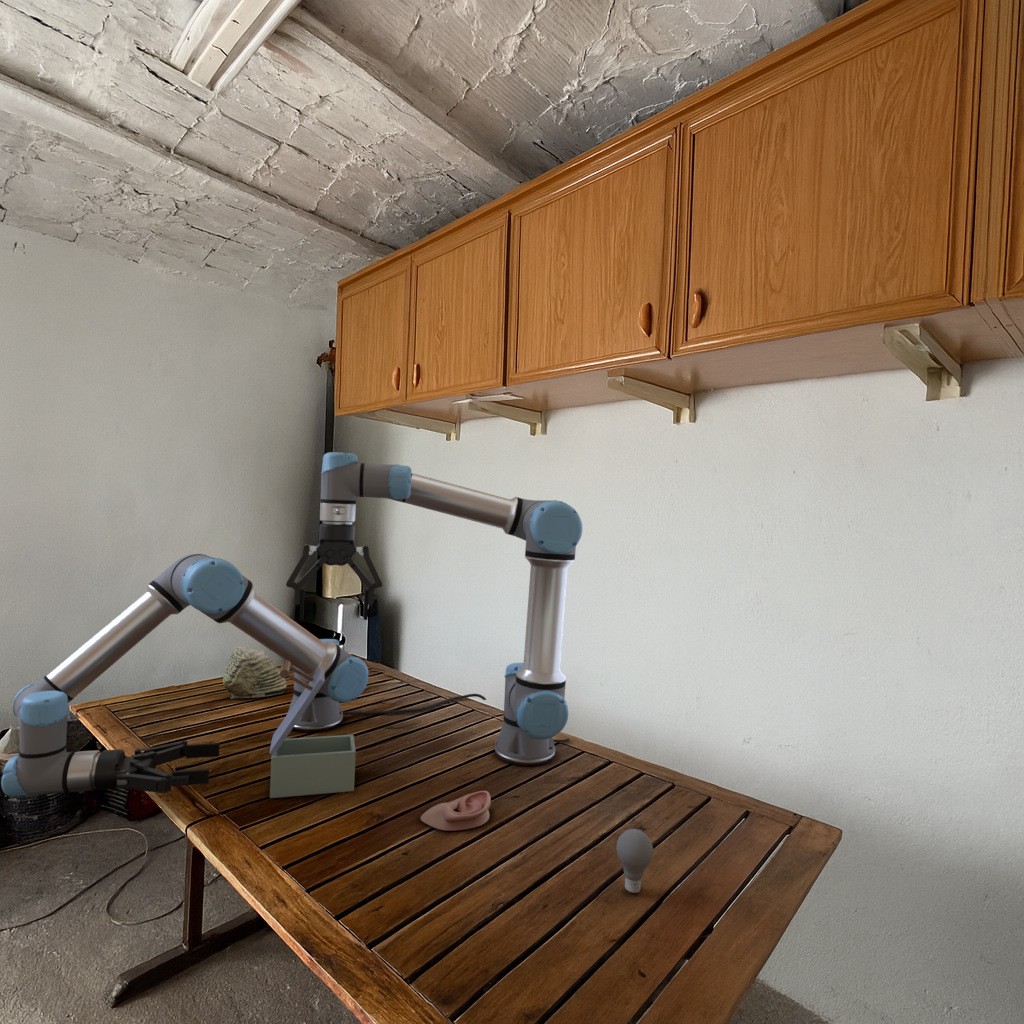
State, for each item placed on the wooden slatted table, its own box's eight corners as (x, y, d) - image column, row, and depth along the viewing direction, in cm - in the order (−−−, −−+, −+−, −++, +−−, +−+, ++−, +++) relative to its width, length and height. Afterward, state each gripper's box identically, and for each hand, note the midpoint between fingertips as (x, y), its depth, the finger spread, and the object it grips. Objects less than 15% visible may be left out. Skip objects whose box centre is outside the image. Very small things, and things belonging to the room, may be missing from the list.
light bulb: (610, 879, 108) (613, 822, 108) (644, 879, 109) (647, 822, 109) (619, 902, 102) (622, 840, 102) (655, 901, 103) (658, 840, 103)
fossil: (218, 695, 195) (220, 647, 195) (278, 685, 208) (279, 640, 207) (228, 703, 189) (230, 653, 188) (289, 692, 201) (290, 645, 201)
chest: (351, 771, 147) (353, 734, 147) (354, 791, 137) (355, 751, 137) (273, 777, 142) (274, 739, 142) (269, 798, 132) (271, 757, 132)
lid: (324, 669, 144) (291, 649, 142) (324, 681, 135) (288, 661, 132) (277, 737, 142) (242, 719, 140) (273, 755, 132) (236, 735, 130)
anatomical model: (415, 806, 123) (434, 781, 134) (414, 826, 123) (433, 799, 134) (481, 816, 120) (495, 789, 132) (480, 836, 120) (494, 808, 132)
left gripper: (117, 763, 139) (222, 756, 145) (75, 819, 115) (203, 808, 122) (118, 729, 139) (223, 723, 145) (76, 778, 115) (204, 769, 121)
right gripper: (275, 522, 132) (272, 623, 132) (396, 525, 139) (392, 621, 140) (278, 520, 139) (274, 616, 140) (392, 524, 146) (389, 615, 147)
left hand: (214, 762), depth 133 cm, fingers open, 13 cm apart
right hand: (333, 619), depth 140 cm, fingers open, 13 cm apart
